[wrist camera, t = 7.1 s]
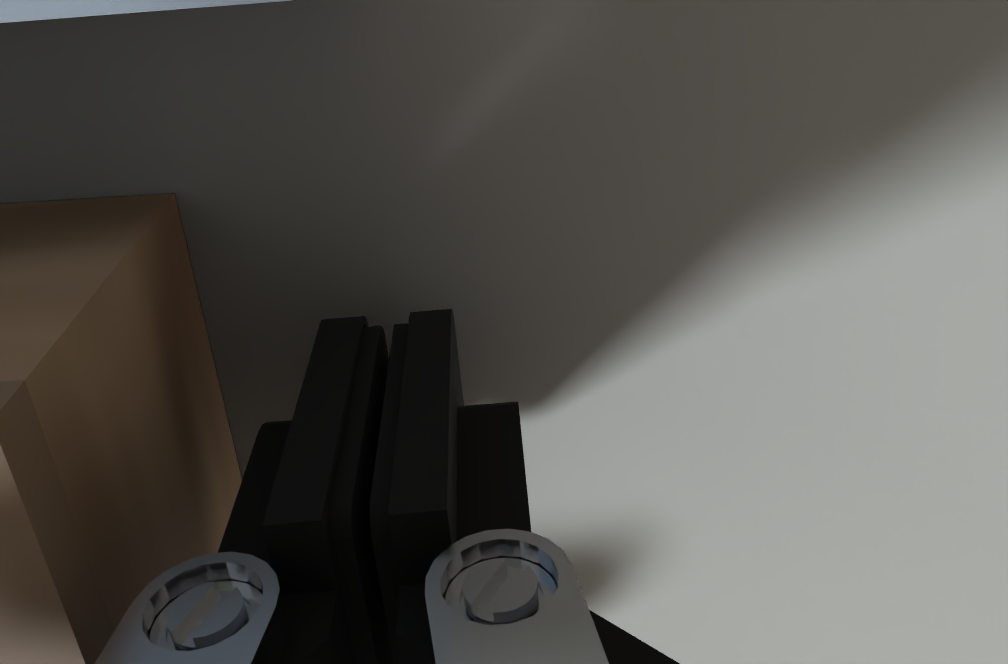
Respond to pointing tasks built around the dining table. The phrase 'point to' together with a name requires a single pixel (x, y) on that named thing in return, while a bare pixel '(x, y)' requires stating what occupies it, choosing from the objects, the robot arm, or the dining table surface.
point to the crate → (101, 420)
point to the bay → (99, 7)
